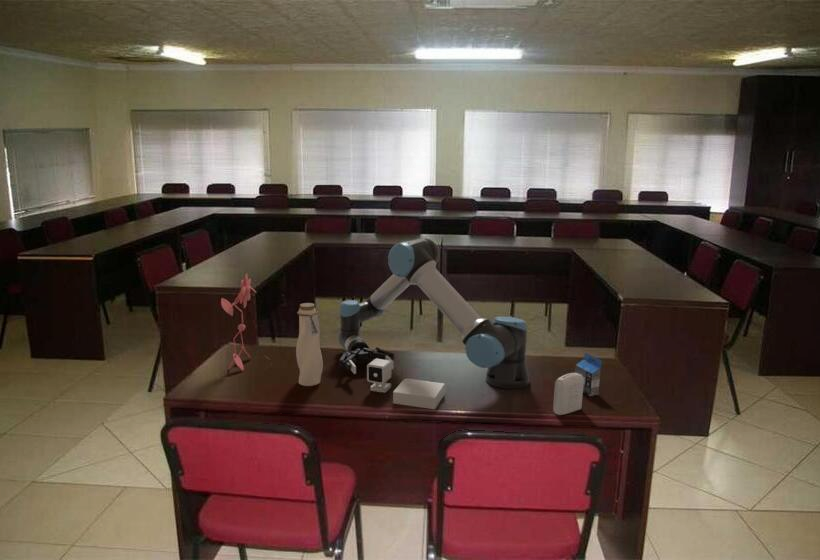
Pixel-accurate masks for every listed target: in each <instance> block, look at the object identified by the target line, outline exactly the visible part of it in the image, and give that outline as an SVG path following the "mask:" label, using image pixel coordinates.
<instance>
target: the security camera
mask: <svg viewBox="0 0 820 560" xmlns="http://www.w3.org/2000/svg"><path fill="white" fill-rule="evenodd" d="M391 378H392V369H391V361H390V360H383V359H377V358H376V359H373V360H371V361H370V362H369V363H368V364H367V365H366V380H367V382H368V383H373V384H372V385H370V390H369V391H372V392H377V393H382V392H383V393H384V394H385V393H386V392H388V391H389V390H390V389H391V388H392V383H389V382H388V381H389V380H390V379H391ZM383 393H382V394H383Z"/></svg>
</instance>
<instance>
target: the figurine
mask: <svg viewBox="0 0 820 560" xmlns="http://www.w3.org/2000/svg"><path fill="white" fill-rule="evenodd" d="M248 275H249V274H248V273H247V272H246V273H245V276H244V278H243V279H242V280H241V281H240V291H239V292H238V295H237V296H236V298H235V300H234V301H233V302H230V301H228V300H227V299H225V298H224V297H222V298H220V300H221V301H220V305H221V307H222V309H223V310H224V311H225V313H226V314H228V315H230V316H231V317H233V316H234V307H235V308H236V309H237V310H238V311H240V313H241V323H240V324H238V325H237V330H239V331H238V333H236V335H235V336H234V337H233V346H234V347H233V348H234V353H233V354H232V361H231V363H230V365H229V367H228V370H230V369H231V368H232V365H233V363H235V365H236V366H237V367H238V368H239V369H240V370H241V371H242V372H244V364H243V362H242V359H241V357H240V356H241V354H242V352H243V351H244V353H246V355H247V357H248V358H249V359H250V360H251V359H252V357H251V356H250V355H249V354H248V352H247V351H246V350H245V347H244V341H243V335H242V332H244V331H245V329H246V325H245V324H244V312H243V310H242V309H240V308H239V307H238V306H237V304H238V303H239V304H241V305H243V306H242V307H243V308H244V309H246V307H247V304H248V303H247V302H248V301H251V290H252V291H253V292H254V293H255V294H258V293H257V292H258V291H256V290H255V289H254V288H253V287H252V285H251V283H252V280H251V278H249V277H248ZM248 278H249V279H248ZM233 306H234V307H233ZM239 334H240V338H241V344H242V345H240V347H241V349H240V351H239V354H237V350H236V339H235V338H237V336H238V335H239ZM263 356H264V357H266V356H265V355H263ZM267 359H268V360H269V361H270V360H271V358H269V357H267ZM271 365H272V363H269V365H268V366H267V367H265V368H264V369H262V370H263V371H264V370H266V369H267V368H269V367H270V366H271ZM221 375H224V376H225V375H226V374H224V373H221Z"/></svg>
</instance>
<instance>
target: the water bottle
mask: <svg viewBox="0 0 820 560" xmlns="http://www.w3.org/2000/svg"><path fill="white" fill-rule="evenodd" d="M296 314H297V316H298V317H299V318H298V323H299V324H298V325H299V326H298V327H299V328H298V329H299V330H298V331H299V332H298V337H297V343H296V347H295V354H296V355H295V356H296V362H297V363H296V364H297V367H298V368H299V376H298V384H299V385H301V386H304V387H312V386H317V385H319V384H320V383H321V381H322V379H321V377H322V373H323V368H324V364H323V356H322V352H321V348H320V347H321V345H320V335H321V330H320V324H319V317H318V316H319V315H318V314H319V311H318V310H316V307H315V303H312V302H304V303H300V304H299V309H298V311H297V312H296Z"/></svg>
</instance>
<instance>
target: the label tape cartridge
mask: <svg viewBox="0 0 820 560" xmlns="http://www.w3.org/2000/svg"><path fill="white" fill-rule="evenodd" d="M583 357H584V358H583V359H582V360H581V361H579V362H578V363H576V364H575V369H574V373H578V374H581V375H582V376H583V379H584V384H583V393H584V394H585V395H587V396H588V395H589V397H590V396H591V397H595V396H594V395H596V396H598V395H599V392H600V390H599V389H600V379H601V368H602V361H603V360H601V359H598V358H597V357H595V356H593V355H591V354H589V353H587V352H584V356H583ZM592 360H593V361H592Z"/></svg>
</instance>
